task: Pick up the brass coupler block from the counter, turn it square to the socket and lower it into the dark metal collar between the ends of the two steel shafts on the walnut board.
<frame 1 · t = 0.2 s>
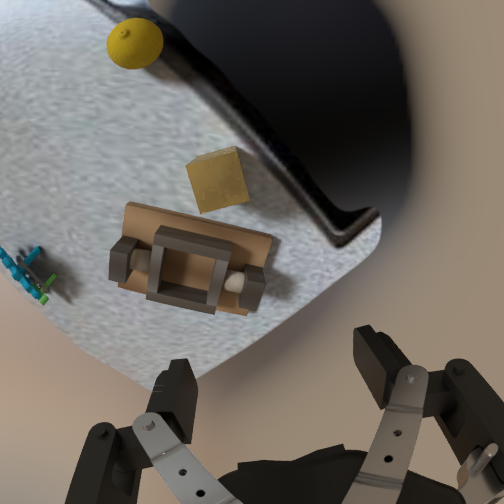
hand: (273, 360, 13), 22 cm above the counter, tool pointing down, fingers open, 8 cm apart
blue-green animal figure: (34, 263, 33), on the counter
coupler block: (221, 168, 30), on the counter
shaft rig: (190, 259, 34), on the counter
lemon: (146, 53, 24), on the counter
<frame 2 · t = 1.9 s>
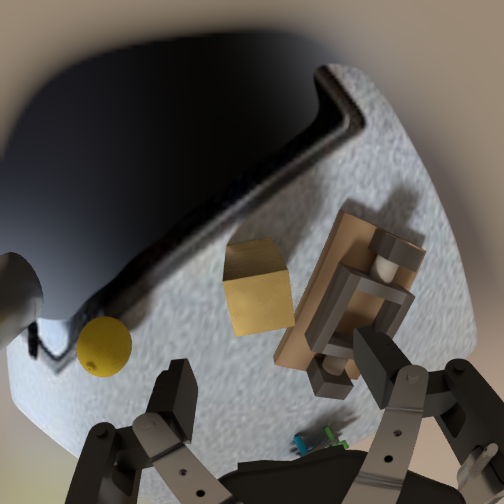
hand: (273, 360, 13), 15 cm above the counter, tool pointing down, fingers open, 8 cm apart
blue-green animal figure: (308, 441, 36), on the counter
coupler block: (252, 262, 27), on the counter
shaft rig: (349, 304, 29), on the counter
lemon: (118, 325, 29), on the counter
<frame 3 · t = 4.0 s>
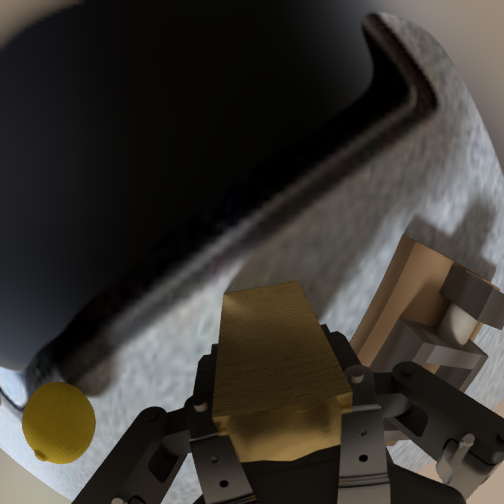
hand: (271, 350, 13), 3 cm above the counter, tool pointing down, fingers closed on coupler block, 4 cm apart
coupler block: (266, 319, 17), on the counter, touching gripper
shaft rig: (399, 364, 18), on the counter
lemon: (79, 387, 18), on the counter
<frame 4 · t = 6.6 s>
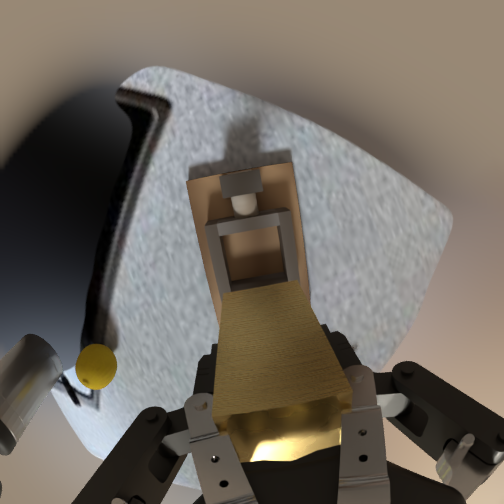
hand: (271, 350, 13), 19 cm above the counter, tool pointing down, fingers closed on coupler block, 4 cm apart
coupler block: (265, 318, 17), point 16 cm above the counter, touching gripper
shaft rig: (252, 247, 32), on the counter
lemon: (107, 349, 35), on the counter
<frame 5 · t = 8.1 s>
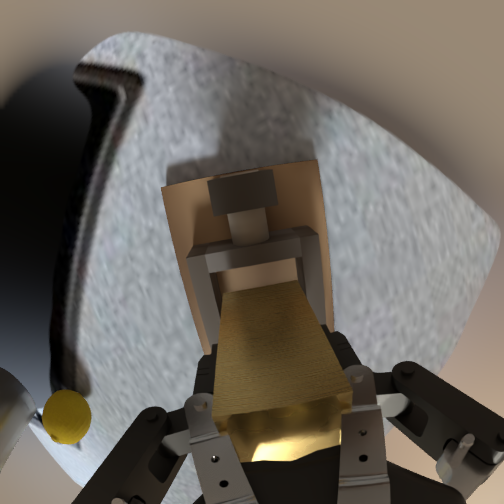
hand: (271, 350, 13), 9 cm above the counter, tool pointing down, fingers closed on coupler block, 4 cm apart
coupler block: (265, 318, 17), point 6 cm above the counter, touching gripper
shaft rig: (258, 280, 23), on the counter
lemon: (80, 393, 26), on the counter
when the fingers open (6 cm above the counter, at t = 9.1 s): coupler block drops 1 cm, resting on shaft rig.
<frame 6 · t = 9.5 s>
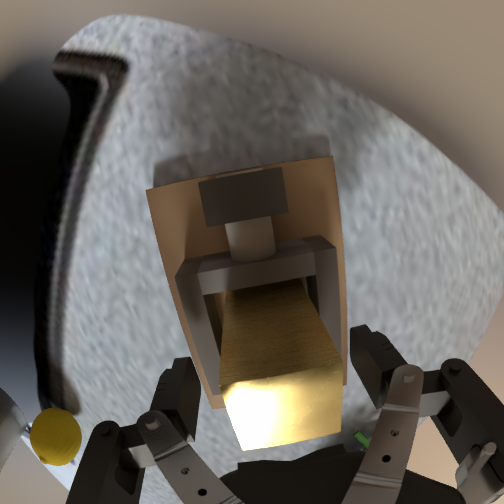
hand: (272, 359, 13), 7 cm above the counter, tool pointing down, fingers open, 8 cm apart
coupler block: (266, 307, 18), point 1 cm above the counter, touching shaft rig
shaft rig: (261, 298, 19), on the counter
lemon: (69, 410, 23), on the counter
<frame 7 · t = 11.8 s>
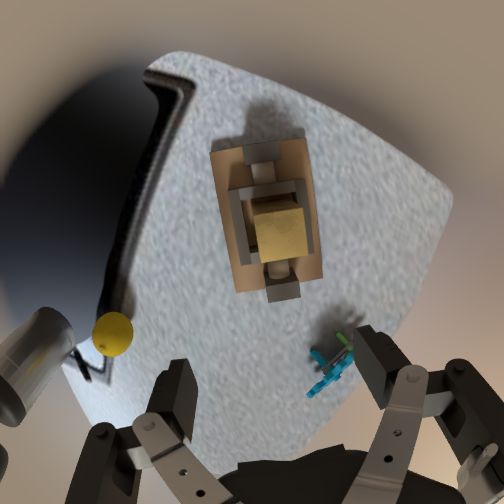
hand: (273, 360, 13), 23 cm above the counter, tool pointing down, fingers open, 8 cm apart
blue-green animal figure: (329, 356, 41), on the counter
coupler block: (271, 217, 33), point 1 cm above the counter, touching shaft rig
shaft rig: (268, 215, 34), on the counter
lemon: (123, 318, 38), on the counter
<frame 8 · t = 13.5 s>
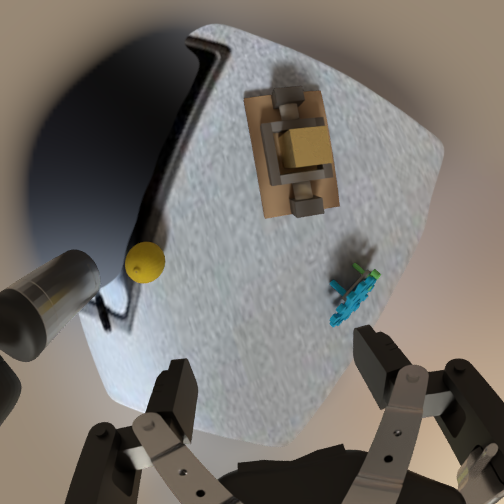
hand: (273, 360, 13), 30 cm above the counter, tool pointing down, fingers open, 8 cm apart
blue-green animal figure: (346, 289, 45), on the counter
coupler block: (295, 151, 37), point 1 cm above the counter, touching shaft rig
shaft rig: (292, 152, 39), on the counter
lemon: (153, 253, 42), on the counter
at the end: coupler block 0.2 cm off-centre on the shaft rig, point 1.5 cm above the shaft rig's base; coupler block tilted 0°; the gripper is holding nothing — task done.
